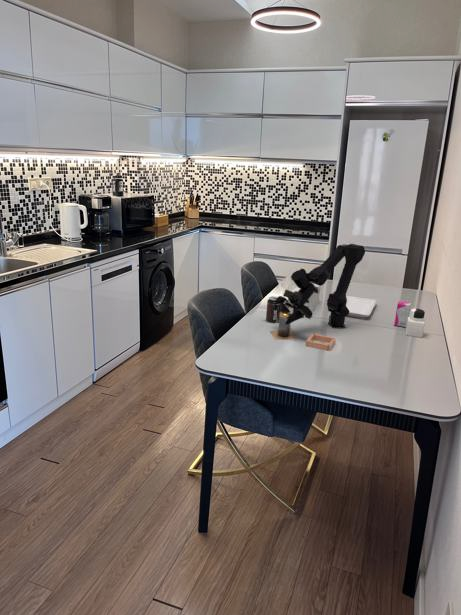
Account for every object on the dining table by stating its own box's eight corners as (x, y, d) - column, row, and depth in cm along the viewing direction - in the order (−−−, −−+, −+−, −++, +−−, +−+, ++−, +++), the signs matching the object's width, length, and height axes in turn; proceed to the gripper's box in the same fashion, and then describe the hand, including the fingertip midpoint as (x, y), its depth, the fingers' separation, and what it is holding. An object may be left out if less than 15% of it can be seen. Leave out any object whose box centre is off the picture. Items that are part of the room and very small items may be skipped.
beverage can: (279, 325, 215) (281, 300, 211) (264, 323, 216) (266, 299, 213) (280, 320, 221) (282, 296, 218) (266, 319, 223) (268, 295, 219)
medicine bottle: (421, 333, 215) (426, 308, 212) (422, 338, 209) (426, 313, 205) (405, 330, 218) (409, 306, 214) (405, 335, 211) (410, 310, 208)
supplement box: (407, 324, 226) (411, 302, 223) (406, 328, 221) (410, 305, 217) (395, 322, 228) (398, 300, 225) (393, 326, 223) (397, 303, 220)
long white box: (307, 318, 227) (309, 297, 224) (286, 315, 231) (288, 294, 228) (318, 302, 256) (321, 283, 253) (300, 299, 260) (301, 281, 256)
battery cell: (287, 333, 204) (289, 311, 200) (290, 337, 199) (292, 315, 196) (276, 333, 203) (278, 311, 200) (279, 337, 198) (281, 315, 195)
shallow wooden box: (311, 340, 199) (312, 333, 198) (334, 344, 195) (335, 338, 194) (305, 347, 190) (306, 340, 190) (329, 352, 187) (330, 345, 186)
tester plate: (291, 332, 207) (291, 330, 206) (297, 340, 197) (297, 339, 197) (269, 332, 205) (269, 331, 205) (275, 341, 195) (275, 339, 195)
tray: (334, 315, 235) (335, 309, 233) (345, 300, 262) (346, 295, 261) (368, 321, 228) (369, 315, 227) (376, 305, 256) (377, 299, 255)
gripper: (281, 278, 203) (259, 305, 201) (310, 288, 189) (287, 317, 186) (292, 293, 210) (272, 319, 207) (322, 304, 195) (300, 332, 193)
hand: (282, 322), depth 198 cm, fingers closed on battery cell, 5 cm apart
